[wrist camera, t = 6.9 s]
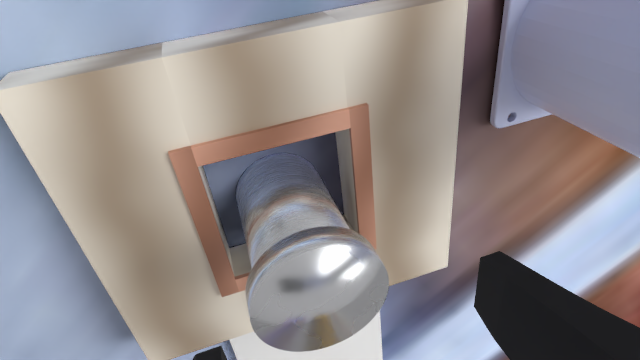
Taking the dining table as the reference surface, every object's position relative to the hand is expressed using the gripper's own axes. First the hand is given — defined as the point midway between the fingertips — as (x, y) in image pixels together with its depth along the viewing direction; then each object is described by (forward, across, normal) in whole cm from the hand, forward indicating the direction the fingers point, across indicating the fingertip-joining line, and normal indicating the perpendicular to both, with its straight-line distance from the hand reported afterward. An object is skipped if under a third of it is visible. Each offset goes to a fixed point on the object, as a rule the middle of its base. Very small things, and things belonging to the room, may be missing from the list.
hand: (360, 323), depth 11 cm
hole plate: (+9, 0, +1) cm, 9 cm away
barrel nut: (+9, 0, +2) cm, 10 cm away
